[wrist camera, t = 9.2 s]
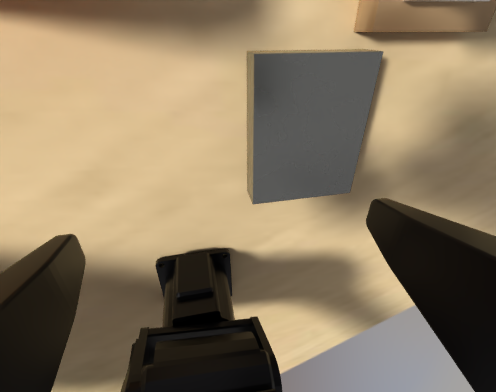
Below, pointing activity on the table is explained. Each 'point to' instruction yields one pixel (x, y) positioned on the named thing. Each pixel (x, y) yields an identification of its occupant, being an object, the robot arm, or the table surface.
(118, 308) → the table surface
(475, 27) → the stand
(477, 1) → the block
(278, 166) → the stand
